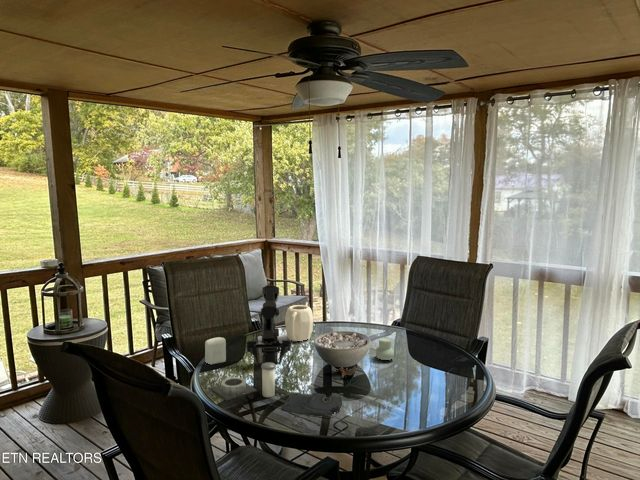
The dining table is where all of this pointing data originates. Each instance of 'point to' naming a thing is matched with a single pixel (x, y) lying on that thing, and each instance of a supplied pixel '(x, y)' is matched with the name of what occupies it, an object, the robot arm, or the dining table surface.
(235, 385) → the segmented ring base
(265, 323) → the robot arm
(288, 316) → the watering can
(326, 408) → the dark slate chunk
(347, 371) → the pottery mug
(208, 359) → the photo printer
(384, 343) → the air freshener
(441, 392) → the dining table surface
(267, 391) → the cream bottle
